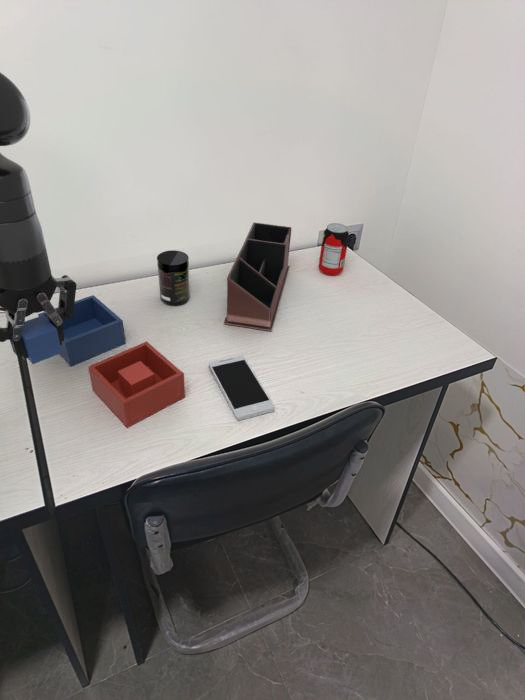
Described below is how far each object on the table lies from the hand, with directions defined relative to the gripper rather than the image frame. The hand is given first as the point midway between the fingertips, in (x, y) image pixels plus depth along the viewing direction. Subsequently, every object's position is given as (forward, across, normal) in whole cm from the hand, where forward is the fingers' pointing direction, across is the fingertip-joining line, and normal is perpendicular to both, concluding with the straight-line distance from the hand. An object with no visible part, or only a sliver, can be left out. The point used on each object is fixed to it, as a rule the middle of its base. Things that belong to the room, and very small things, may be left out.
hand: (41, 349), depth 74 cm
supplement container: (+13, +36, +18) cm, 42 cm away
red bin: (+13, +13, -4) cm, 19 cm away
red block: (+13, +13, -4) cm, 19 cm away
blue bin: (+13, +13, +16) cm, 24 cm away
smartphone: (+13, +28, -14) cm, 34 cm away
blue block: (0, 0, 0) cm, 0 cm away
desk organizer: (+13, +53, +8) cm, 55 cm away
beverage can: (+13, +75, +4) cm, 76 cm away
